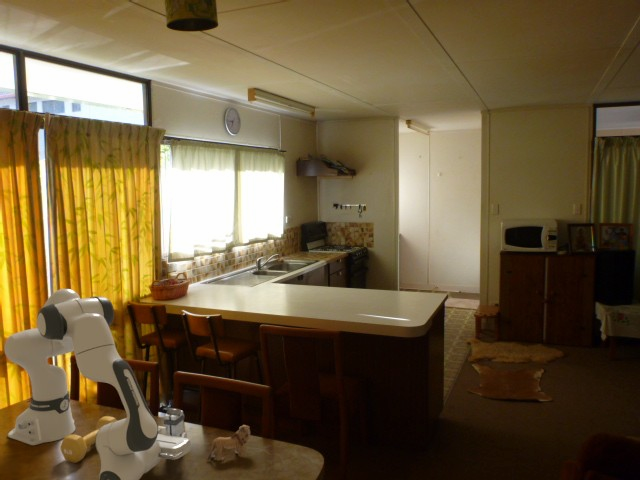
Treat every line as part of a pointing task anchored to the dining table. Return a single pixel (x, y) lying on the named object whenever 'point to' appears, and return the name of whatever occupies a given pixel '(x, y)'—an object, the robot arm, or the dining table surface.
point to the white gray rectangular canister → (174, 422)
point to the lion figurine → (231, 442)
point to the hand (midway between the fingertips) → (172, 432)
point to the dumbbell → (81, 442)
